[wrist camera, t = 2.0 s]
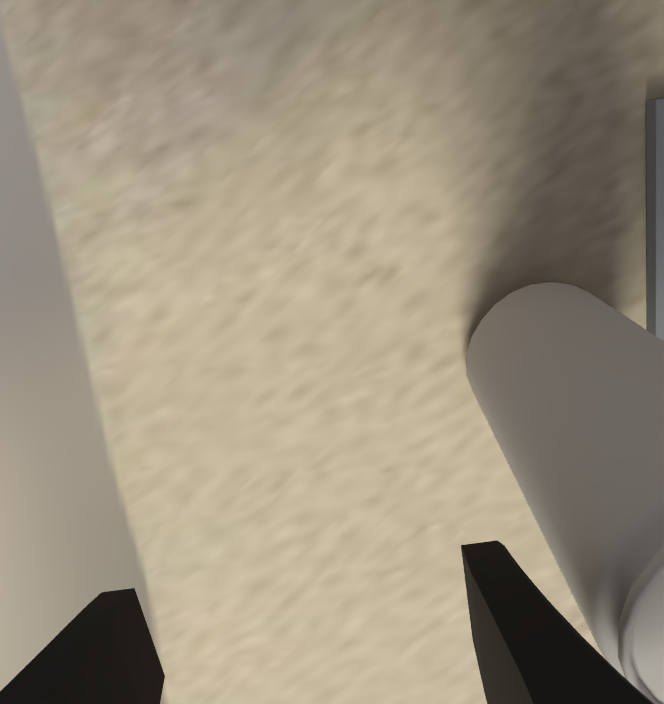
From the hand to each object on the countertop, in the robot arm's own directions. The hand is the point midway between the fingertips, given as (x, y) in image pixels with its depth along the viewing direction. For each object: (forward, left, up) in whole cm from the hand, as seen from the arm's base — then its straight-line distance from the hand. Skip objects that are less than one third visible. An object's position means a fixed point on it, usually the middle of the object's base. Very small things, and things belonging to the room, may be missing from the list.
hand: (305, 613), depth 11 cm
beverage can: (-7, 0, -11) cm, 13 cm away
